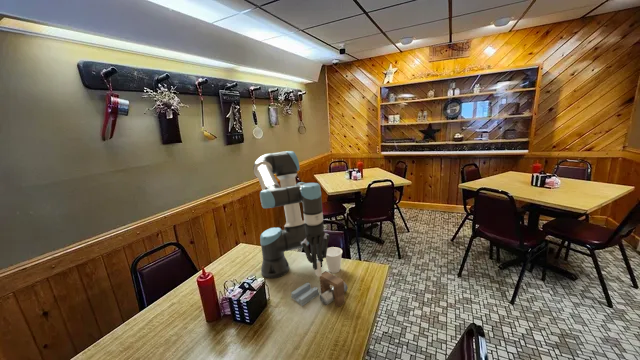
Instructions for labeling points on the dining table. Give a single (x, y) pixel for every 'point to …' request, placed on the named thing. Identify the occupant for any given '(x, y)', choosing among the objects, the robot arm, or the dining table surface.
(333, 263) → the cup
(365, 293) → the dining table surface
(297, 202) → the robot arm
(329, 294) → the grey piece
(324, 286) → the brown arch block
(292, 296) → the cradle
